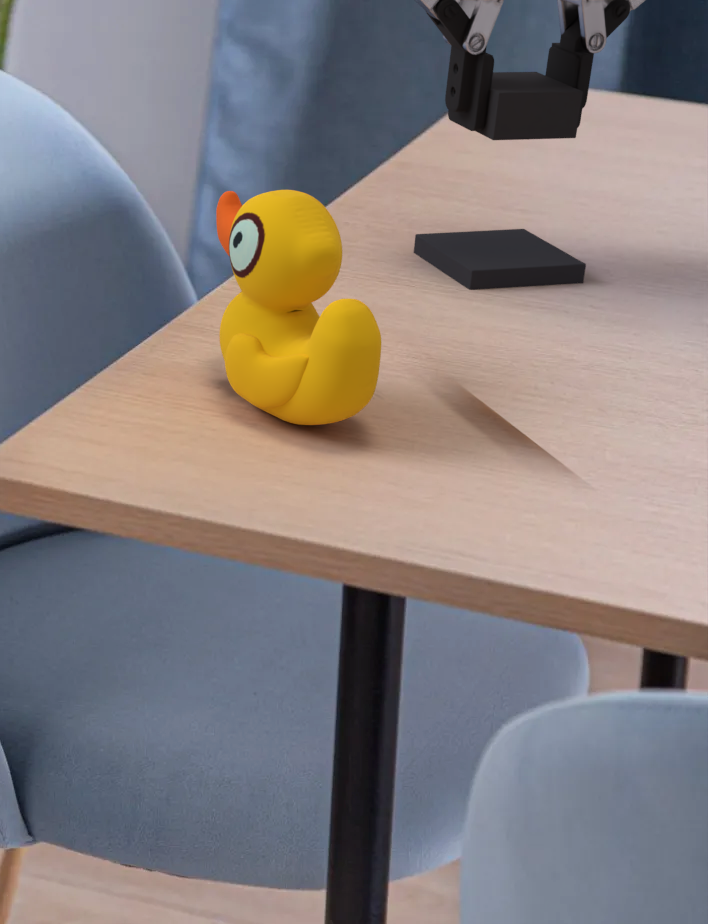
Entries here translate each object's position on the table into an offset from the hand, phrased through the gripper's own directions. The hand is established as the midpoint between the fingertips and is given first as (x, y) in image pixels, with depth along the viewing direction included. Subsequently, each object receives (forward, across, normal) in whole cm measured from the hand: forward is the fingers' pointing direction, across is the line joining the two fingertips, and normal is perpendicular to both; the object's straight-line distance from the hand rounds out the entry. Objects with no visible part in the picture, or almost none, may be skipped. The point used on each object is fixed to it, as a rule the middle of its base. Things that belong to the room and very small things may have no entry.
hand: (513, 120), depth 95 cm
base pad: (+10, 0, 0) cm, 10 cm away
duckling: (+10, -18, -15) cm, 26 cm away
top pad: (0, 0, 0) cm, 0 cm away
